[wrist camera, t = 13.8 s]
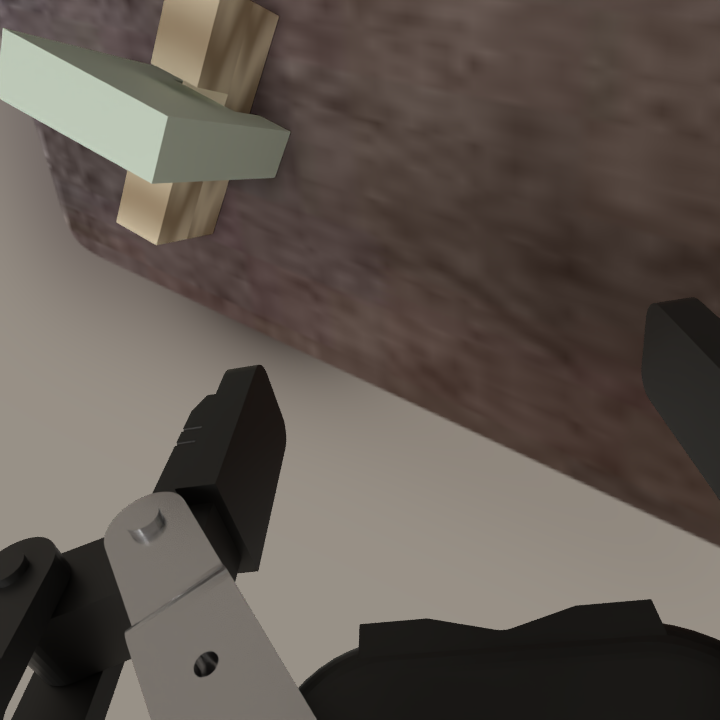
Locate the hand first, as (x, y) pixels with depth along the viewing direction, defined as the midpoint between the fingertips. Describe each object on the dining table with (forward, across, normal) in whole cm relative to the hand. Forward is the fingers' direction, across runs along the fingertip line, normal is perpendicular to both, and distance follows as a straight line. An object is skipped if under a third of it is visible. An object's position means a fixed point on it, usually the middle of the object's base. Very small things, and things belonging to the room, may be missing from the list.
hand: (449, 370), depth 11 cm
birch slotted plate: (+27, +11, -3) cm, 30 cm away
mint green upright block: (+27, +11, -3) cm, 30 cm away
